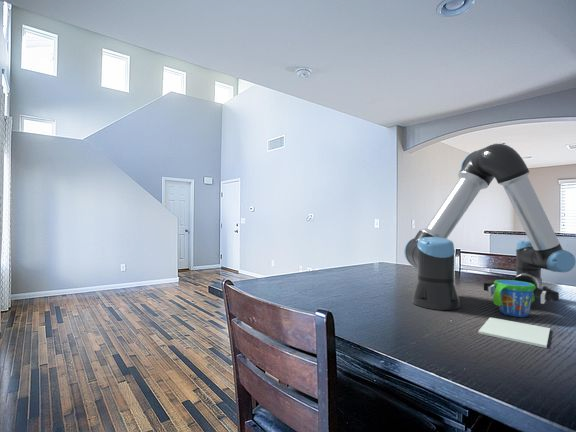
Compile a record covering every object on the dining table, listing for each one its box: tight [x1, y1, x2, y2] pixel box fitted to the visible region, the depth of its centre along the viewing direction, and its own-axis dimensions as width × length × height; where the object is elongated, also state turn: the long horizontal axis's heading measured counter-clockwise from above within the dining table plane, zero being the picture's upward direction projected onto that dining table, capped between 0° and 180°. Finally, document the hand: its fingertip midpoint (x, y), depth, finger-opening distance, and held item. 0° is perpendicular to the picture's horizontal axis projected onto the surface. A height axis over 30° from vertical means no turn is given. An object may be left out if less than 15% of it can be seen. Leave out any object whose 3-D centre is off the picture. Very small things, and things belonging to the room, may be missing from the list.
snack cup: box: [492, 279, 536, 318], centre depth 101 cm, size 16×10×10 cm
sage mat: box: [477, 317, 551, 349], centre depth 85 cm, size 16×14×1 cm
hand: (514, 295), depth 99 cm, fingers open, 13 cm apart
